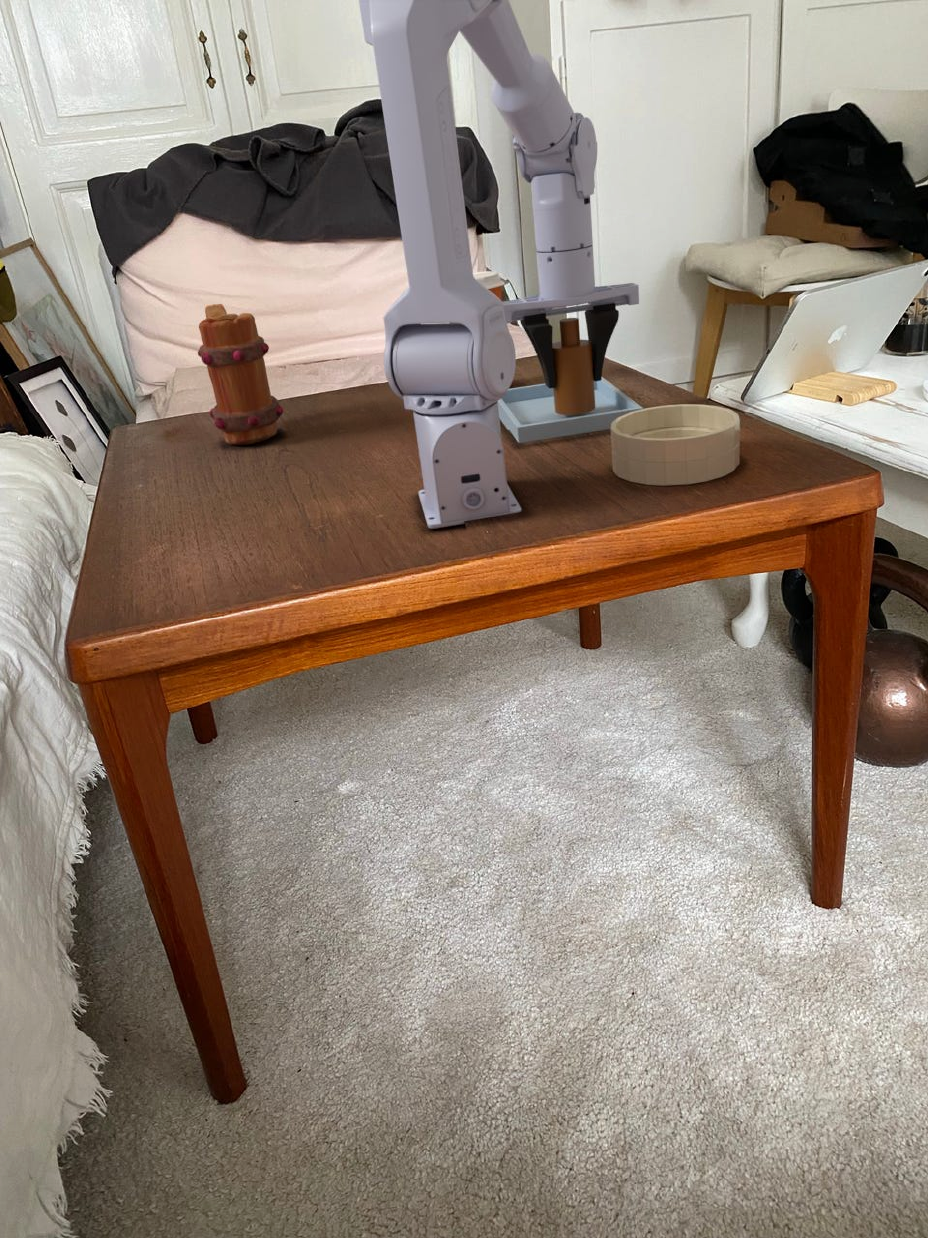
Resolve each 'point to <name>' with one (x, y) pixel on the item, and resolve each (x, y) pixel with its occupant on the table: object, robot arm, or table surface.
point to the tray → (537, 419)
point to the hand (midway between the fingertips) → (573, 382)
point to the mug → (238, 376)
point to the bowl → (675, 444)
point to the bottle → (573, 371)
